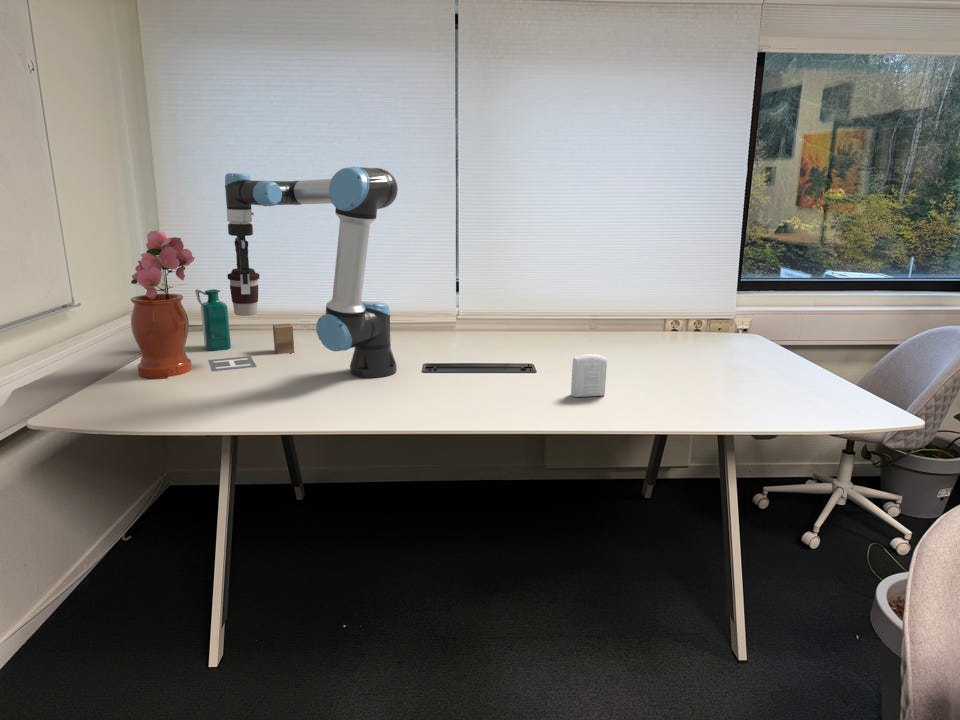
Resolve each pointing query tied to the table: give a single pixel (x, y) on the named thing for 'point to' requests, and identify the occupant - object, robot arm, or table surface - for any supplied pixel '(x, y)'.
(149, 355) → the potted flower
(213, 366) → the letter mat
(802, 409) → the table surface
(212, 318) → the pitcher
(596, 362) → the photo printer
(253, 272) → the coffee cup
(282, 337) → the walnut block
